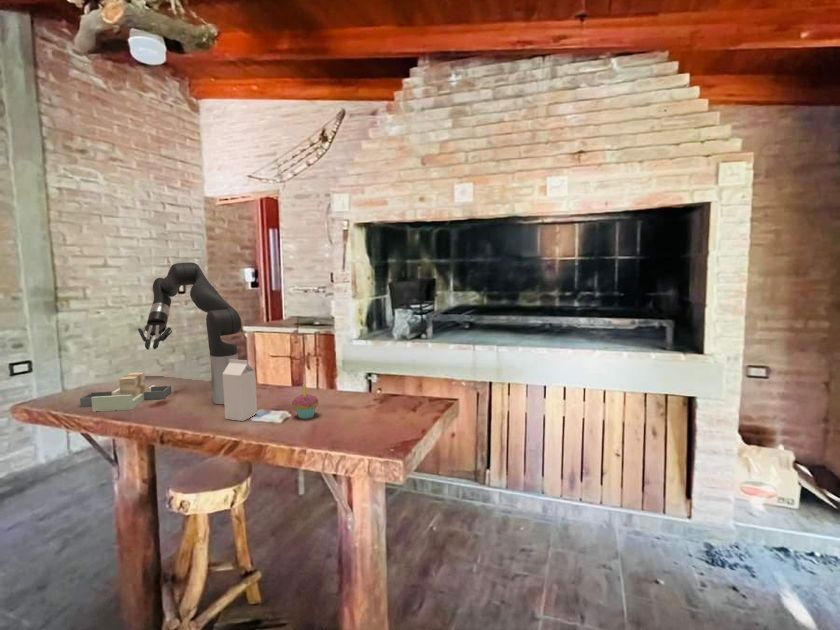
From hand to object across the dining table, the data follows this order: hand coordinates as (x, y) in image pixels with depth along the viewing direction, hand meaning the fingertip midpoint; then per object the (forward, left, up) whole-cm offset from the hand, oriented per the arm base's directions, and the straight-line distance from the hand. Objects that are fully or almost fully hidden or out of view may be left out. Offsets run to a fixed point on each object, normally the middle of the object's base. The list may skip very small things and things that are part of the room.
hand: (150, 348), depth 207 cm
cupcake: (-75, +46, -15) cm, 89 cm away
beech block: (-4, +21, -15) cm, 26 cm away
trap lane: (-5, +27, -14) cm, 31 cm away
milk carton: (-54, +46, -15) cm, 73 cm away
